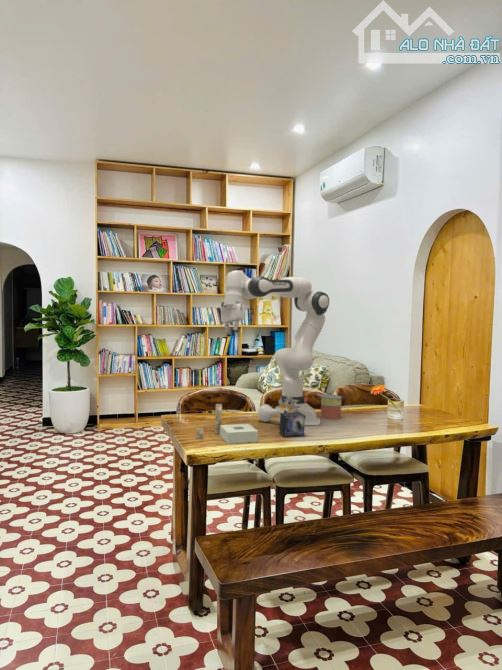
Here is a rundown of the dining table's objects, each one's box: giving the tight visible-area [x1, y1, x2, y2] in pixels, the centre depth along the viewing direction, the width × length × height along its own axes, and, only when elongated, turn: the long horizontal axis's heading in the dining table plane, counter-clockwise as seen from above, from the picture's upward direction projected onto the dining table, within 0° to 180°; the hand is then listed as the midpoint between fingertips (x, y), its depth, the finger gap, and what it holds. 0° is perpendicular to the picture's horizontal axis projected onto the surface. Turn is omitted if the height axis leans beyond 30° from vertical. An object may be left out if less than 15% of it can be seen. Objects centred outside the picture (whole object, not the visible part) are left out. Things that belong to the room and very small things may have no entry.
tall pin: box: [214, 403, 223, 435], centre depth 229 cm, size 3×3×14 cm
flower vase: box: [256, 394, 301, 423], centre depth 249 cm, size 13×18×25 cm
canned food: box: [320, 394, 343, 421], centre depth 269 cm, size 11×11×12 cm
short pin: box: [195, 427, 204, 440], centre depth 220 cm, size 3×3×4 cm
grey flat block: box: [219, 423, 259, 445], centre depth 221 cm, size 14×14×5 cm
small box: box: [278, 412, 305, 438], centre depth 229 cm, size 11×6×10 cm, turn 106°
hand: (231, 331), depth 232 cm, fingers open, 8 cm apart
